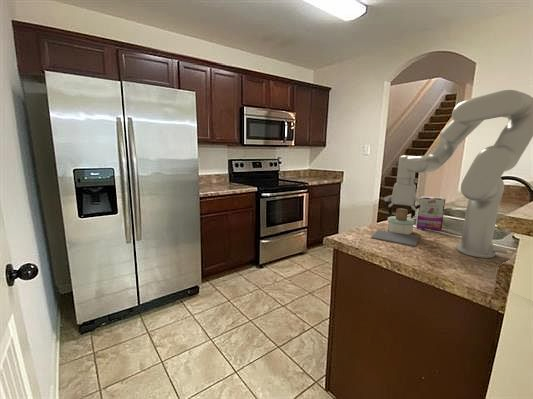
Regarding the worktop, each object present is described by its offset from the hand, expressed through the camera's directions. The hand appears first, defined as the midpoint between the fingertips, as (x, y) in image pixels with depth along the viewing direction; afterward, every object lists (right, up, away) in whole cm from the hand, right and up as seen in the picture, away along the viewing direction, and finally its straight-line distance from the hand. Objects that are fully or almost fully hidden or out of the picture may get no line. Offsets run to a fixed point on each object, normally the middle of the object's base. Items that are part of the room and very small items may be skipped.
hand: (401, 216), depth 131 cm
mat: (-7, -10, -9) cm, 15 cm away
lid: (0, -3, 0) cm, 3 cm away
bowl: (0, -8, +1) cm, 8 cm away
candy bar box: (+17, -7, +6) cm, 19 cm away
